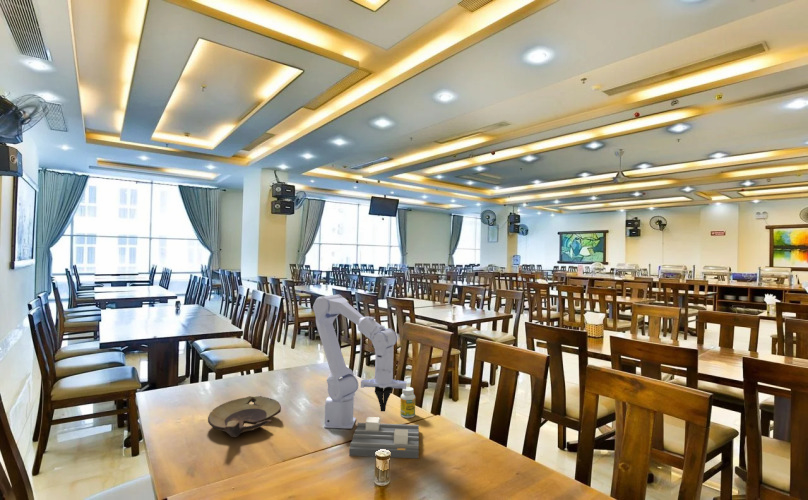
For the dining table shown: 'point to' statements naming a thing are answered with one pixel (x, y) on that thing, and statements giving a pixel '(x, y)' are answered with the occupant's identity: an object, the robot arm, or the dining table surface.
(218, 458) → the dining table surface
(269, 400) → the grey shallow oval dish
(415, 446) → the switch board
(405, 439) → the near switch tab
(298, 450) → the dining table surface
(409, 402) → the supplement bottle
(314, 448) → the dining table surface
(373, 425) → the far switch tab
